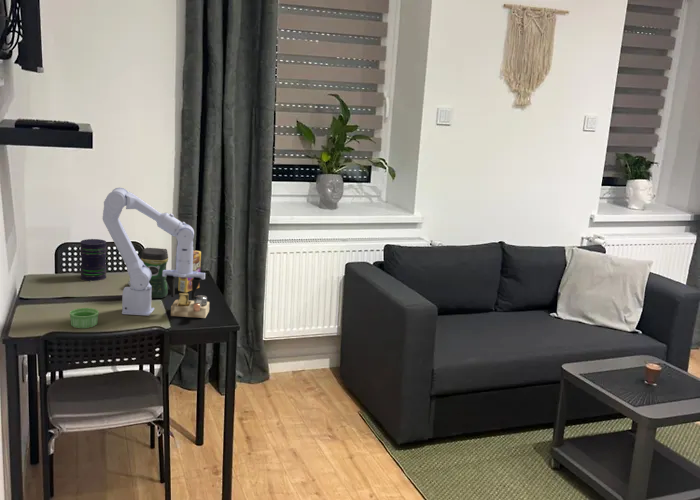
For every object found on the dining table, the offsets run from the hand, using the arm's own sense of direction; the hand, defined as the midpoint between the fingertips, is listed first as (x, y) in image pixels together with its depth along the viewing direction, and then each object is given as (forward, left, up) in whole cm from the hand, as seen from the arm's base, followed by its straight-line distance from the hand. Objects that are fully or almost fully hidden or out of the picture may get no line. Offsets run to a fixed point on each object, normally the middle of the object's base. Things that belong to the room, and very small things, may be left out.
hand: (183, 297), depth 241 cm
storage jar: (-43, +37, -6) cm, 57 cm away
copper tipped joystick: (+6, -3, -2) cm, 7 cm away
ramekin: (-28, -18, -6) cm, 34 cm away
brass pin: (0, 0, -6) cm, 6 cm away
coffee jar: (-14, +18, -6) cm, 24 cm away
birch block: (+3, 0, -6) cm, 6 cm away
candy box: (-3, +29, -6) cm, 30 cm away
